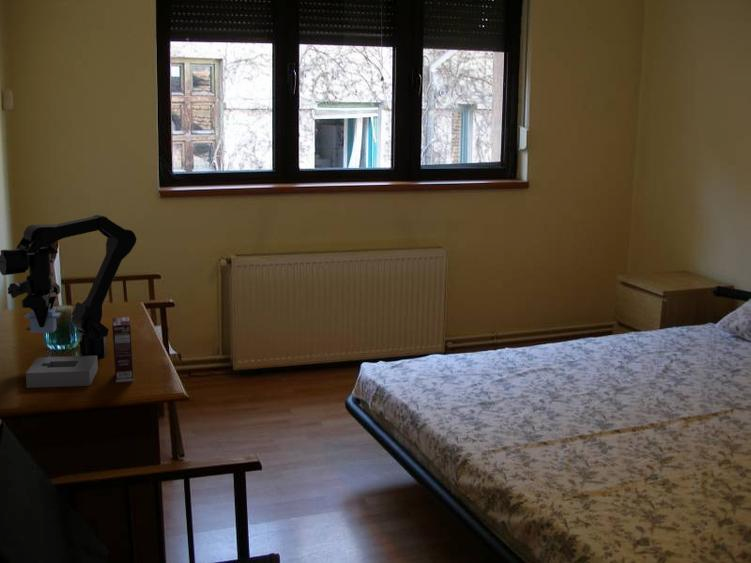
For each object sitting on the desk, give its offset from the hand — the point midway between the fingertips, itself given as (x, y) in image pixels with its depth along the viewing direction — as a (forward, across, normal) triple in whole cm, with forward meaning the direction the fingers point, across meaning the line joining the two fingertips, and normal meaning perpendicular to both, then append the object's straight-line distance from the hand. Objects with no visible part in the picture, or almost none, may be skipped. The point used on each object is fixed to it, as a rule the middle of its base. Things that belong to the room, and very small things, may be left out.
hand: (43, 325), depth 251 cm
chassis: (+12, +13, +7) cm, 19 cm away
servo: (+2, 0, 0) cm, 2 cm away
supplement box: (+12, +13, +23) cm, 29 cm away
